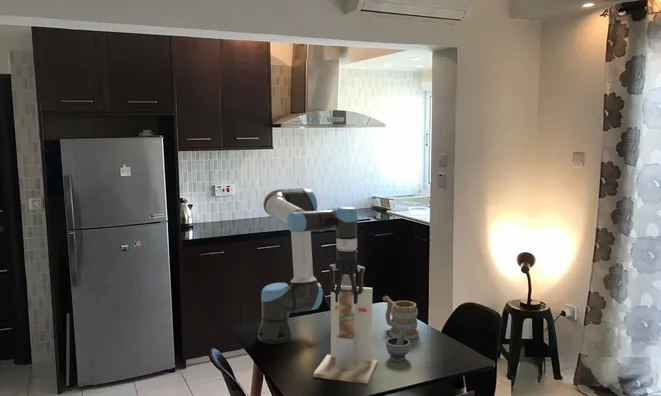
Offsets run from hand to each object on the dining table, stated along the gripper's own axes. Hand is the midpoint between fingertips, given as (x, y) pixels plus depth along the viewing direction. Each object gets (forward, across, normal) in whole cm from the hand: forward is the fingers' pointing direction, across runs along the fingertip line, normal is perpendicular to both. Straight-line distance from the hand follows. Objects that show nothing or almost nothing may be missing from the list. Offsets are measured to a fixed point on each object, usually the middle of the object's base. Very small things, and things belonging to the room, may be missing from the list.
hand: (346, 311), depth 202 cm
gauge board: (+21, 0, +7) cm, 22 cm away
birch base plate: (+23, 0, 0) cm, 23 cm away
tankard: (+23, +12, +46) cm, 53 cm away
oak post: (+15, 0, 0) cm, 15 cm away
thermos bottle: (+23, -14, +56) cm, 62 cm away
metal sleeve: (+21, 0, 0) cm, 21 cm away
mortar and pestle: (+23, +17, +17) cm, 33 cm away
